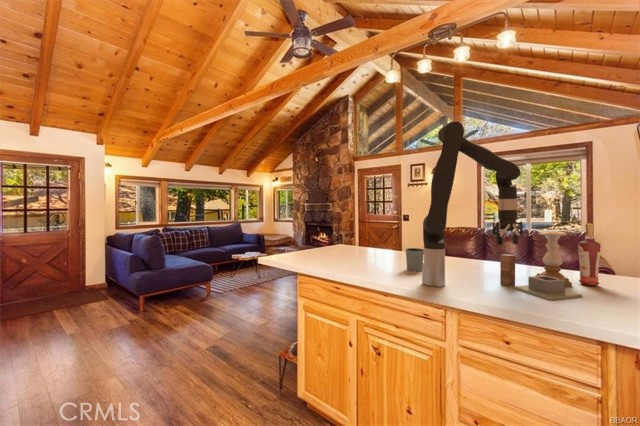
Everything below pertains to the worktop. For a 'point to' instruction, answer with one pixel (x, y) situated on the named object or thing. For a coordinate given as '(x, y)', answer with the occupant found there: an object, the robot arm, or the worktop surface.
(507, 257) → the wooden peg
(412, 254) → the grey-green tapered pot
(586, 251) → the liquor
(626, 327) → the worktop surface
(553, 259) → the candle holder
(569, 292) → the box on flat tray
